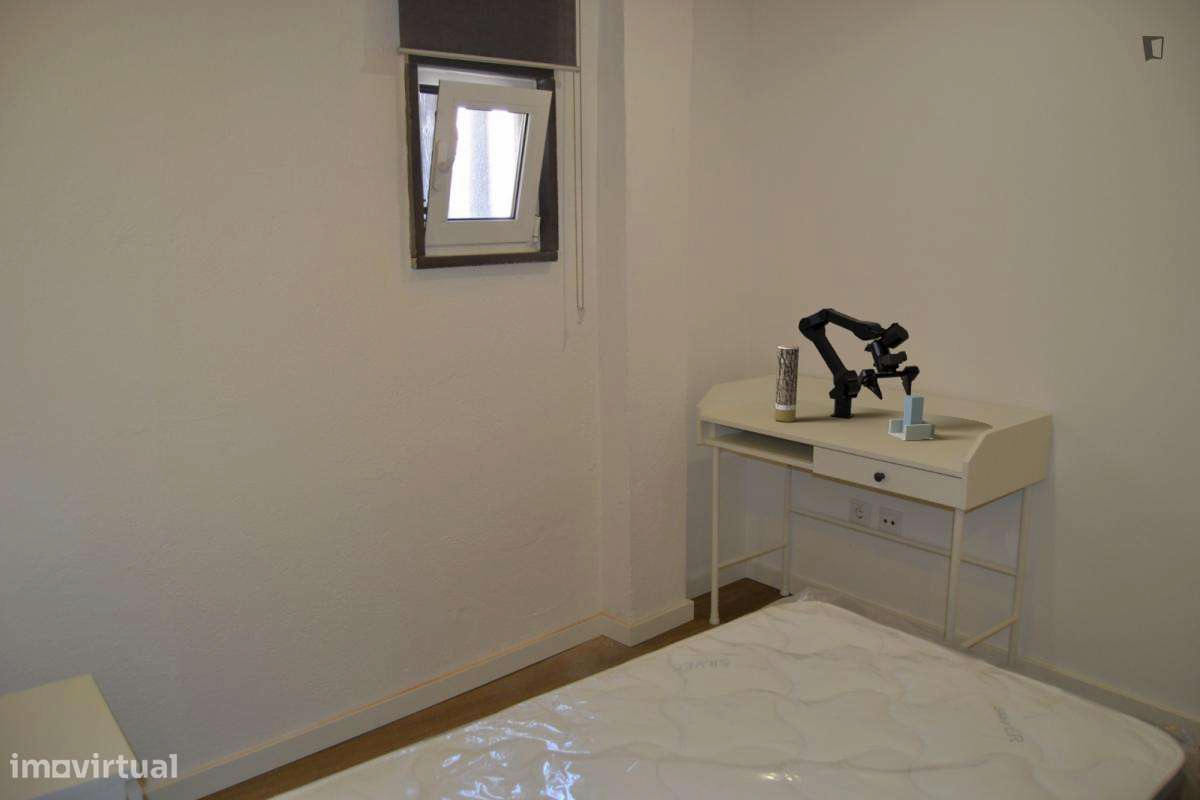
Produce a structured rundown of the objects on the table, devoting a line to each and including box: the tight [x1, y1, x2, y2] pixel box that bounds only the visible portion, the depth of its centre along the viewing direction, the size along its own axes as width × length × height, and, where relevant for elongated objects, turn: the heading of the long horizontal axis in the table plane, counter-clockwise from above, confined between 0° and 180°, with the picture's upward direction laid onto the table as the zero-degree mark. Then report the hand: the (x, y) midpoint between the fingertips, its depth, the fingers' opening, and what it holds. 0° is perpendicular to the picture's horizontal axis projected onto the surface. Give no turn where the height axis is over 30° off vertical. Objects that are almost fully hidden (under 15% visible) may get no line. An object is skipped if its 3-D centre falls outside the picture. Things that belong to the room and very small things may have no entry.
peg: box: [902, 394, 925, 434], centre depth 268 cm, size 4×4×12 cm
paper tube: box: [774, 344, 800, 423], centre depth 289 cm, size 7×7×25 cm
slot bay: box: [887, 418, 936, 442], centre depth 269 cm, size 10×9×5 cm
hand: (895, 398), depth 275 cm, fingers open, 9 cm apart
